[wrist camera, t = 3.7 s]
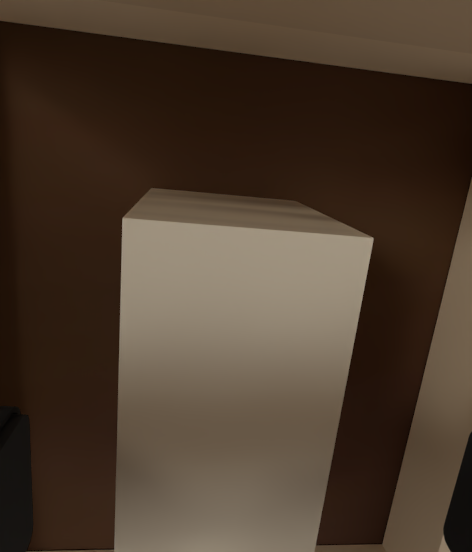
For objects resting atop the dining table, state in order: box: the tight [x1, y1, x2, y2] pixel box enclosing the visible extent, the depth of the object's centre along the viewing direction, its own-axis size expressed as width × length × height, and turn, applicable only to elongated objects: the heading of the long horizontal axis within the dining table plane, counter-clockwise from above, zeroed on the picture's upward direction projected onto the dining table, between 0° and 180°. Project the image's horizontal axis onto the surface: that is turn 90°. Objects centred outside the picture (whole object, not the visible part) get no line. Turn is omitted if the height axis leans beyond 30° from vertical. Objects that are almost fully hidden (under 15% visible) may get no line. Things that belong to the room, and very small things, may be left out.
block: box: [114, 188, 374, 552], centre depth 12 cm, size 10×4×6 cm, turn 174°
